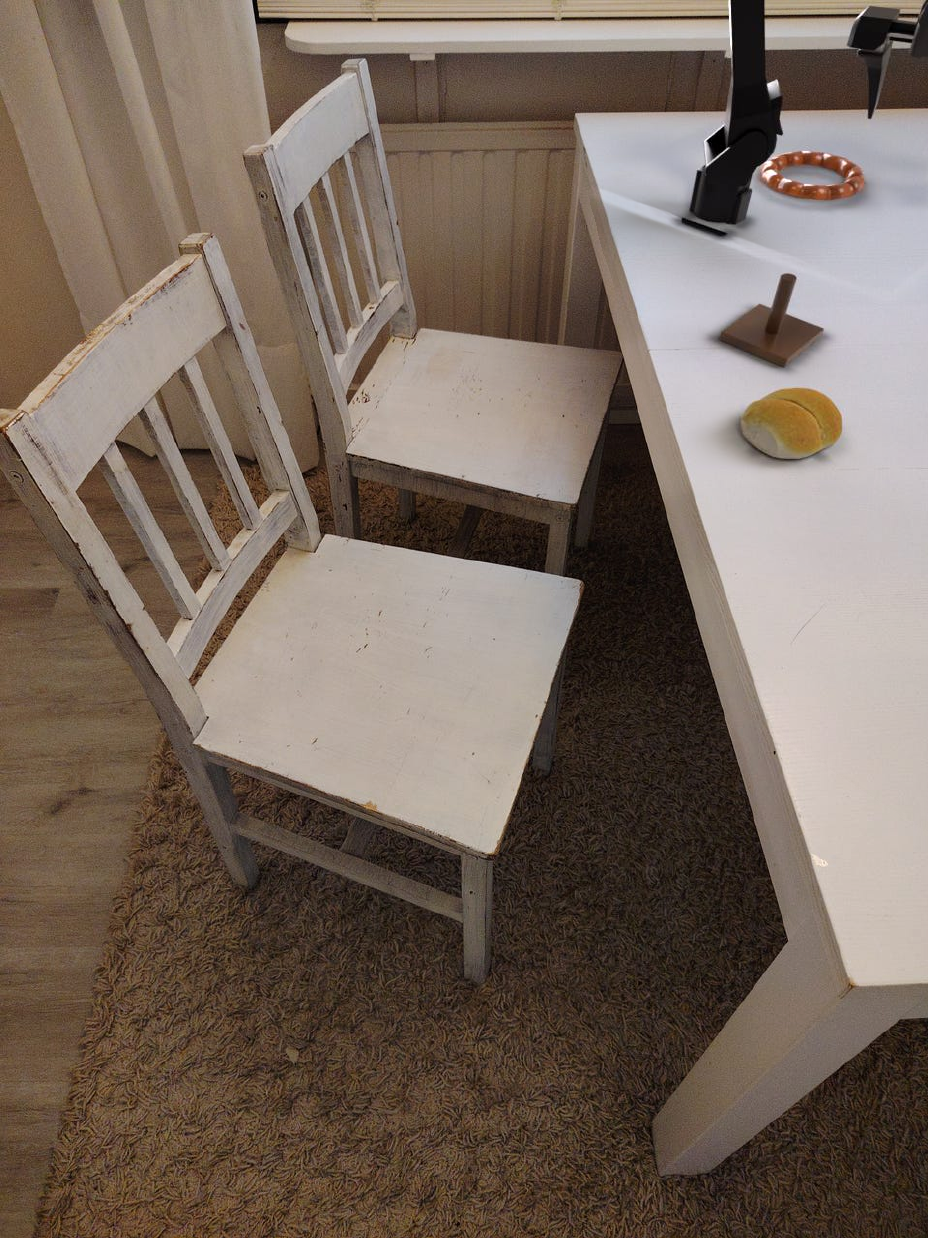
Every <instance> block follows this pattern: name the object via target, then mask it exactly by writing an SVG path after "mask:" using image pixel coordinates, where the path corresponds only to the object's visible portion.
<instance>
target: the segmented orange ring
mask: <svg viewBox="0 0 928 1238" xmlns="http://www.w3.org/2000/svg"><path fill="white" fill-rule="evenodd" d="M802 165H804V166H815V167H816V166H819V167H822V168H826V169H828V170H829V169H830V170H833V171H835V172H837V173H838V174H840V175H841V176H843V177H844V180H845V181H844V182H842V183H836V184H829V185H823V184H821V185H819V184H809V183H808V184H807V183H802V182H799V181H795V180H792V179H789V178H786V176H783V175H782V174H781V173H780V172H781V171H782V170H784V169H786V168H788V167H795V166H802ZM760 181H761V182H763V183H764V184H765V185H767V186H768V187H769V188H770V189H772V190H774V191H775V192H778V193H781V194H784V195H787V196H791V197H793V198H796V199H797V198H798V199H803V200H805V199H806V200H818V201H833V200H839V199H845V198H851V197H853V196H855V195H856V194H858V193H859V192H860V191H862V190H863V189H864V188H865V187H866V179H865V173H864V170H863V168H861V167H860V166H859V165H858V164H855V163H854V162H853V161H851V160H849V159H848V158H846V157H842V156H839V155H834V154H832V153H828V152H823V151H810V150H809V151H808V150H797V151H791V152H784V153H779V154H777V155H775V156H773V157H772V158H769V159H768V160H767V161H766V162H764V163H763V164H762V165H761V168H760Z"/></svg>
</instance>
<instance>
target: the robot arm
mask: <svg viewBox="0 0 928 1238" xmlns="http://www.w3.org/2000/svg"><path fill="white" fill-rule="evenodd" d="M765 2H766V1H765V0H728V15H729V16H728V17H729V41H730V42H729V43H730V65H731V68H730V69H731V75H730V84H729V88H728V94H727V95H728V96H727V100H726V108H725V117H724V124H722V125H721V126H720V127H719V128H717V129H716V130H715V131H714V132H713V133H712V134H710V135H709V136H708V137H706V139H704V140H703V156H704V157H703V158H704V165H701V166H700V167H698V168H697V169H696V174H695V179H694V183H693V184H694V186H693V189H692V195H691V199H690V205H689V212H692V213H693V214H694V216H695V217H697V219H699V220H702V221H704V222H708V223H713V224H727V225H732V226H736V225H738V224H739V223H741V222H742V221H744V220H745V219H747V215H748V210H749V206H750V202H751V199H752V193H753V188H751V183H752V181H753V175H754V174H755V172H756V170H757V168H758V167H760V166H762V165H763V164H764V163H765V162H767V161H769V160H770V158H771V157H772V155H773V154H774V153H775V151H776V148H777V143H778V142H777V141H778V136H781V137H782V136H783V135H784V130H783V126H782V122H781V114H782V107H783V99H784V97H783V94H782V89H781V86H780V83H779V79H775V80H773V81H770V82H767V76H766V5H765V4H766V3H765ZM900 12H901V9H900V8H892V7H884V6H876V5H875V6H874V5H869V6H867V7H866V8H865V9H864V10H862V11H861V12H860V14H858V16H857V17H856V18H855V20H854V21H853V24H852V26H851V29H850V33H849V36H848V39H847V43H846V47H849V48H851V49H857V51H856V57H858V58H860V59H863V60H864V63H865V65H866V69H867V80H868V87H867V88H868V91H867V92H868V93H867V120H872V119H873V117H874V114H875V111H876V109H877V107H878V104H879V100H880V96H881V92H882V88H883V85H884V81H885V76H886V72H887V68H888V64H889V60H890V57H891V53H892V48H893V45H894V42H897V43H898V42H899V43H905V44H906V43H907V44H910V47H909V49H908V55H909V56H910V57H911V58H913V59H916V60H917V59H919V60H920V59H922V58H925V59H928V0H925V1H924V2H923V4H922V6H921V9H920V11H919V15H918V17H917V20H916V21H911V20H901V19H899V17H900ZM680 222H681V223H683V224H685V225H688V226H691V227H694V228H697V229H698V230H699V229H700V230H703V231H705V232H708V233H710V234H714V235H716V236H718V237H719V236H720V237H724V236H726V235H727V234H728V232H725V231H722V230H721V229H718V228H714V227H711V226H708V225H706V224H702V223H700V222H697V221H695V220H692V219H688V218H685V217H681V220H680Z"/></svg>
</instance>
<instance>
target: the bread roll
mask: <svg viewBox="0 0 928 1238" xmlns="http://www.w3.org/2000/svg"><path fill="white" fill-rule="evenodd" d="M740 428H741V431H742V434H743V436H744V438H745V439H746V440H747V441H749V442H750V443H751V444H752V445H753V446H754V447H755V448H757V449H758V450H759V451H761V452H763V453H764V454H767V455H769V456H771V457H773V458H778V459H786V460H787V459H789V460H791V459H794V460H799V459H804V458H806V457H809V456H811V455H814V454H816V453H818V452H820V451H821V450H824V449H826V448H829V447H830V446H832V445H834V444H835V443H837V442H838V441H839V439H840V438H841V434H842V432H843V418H842V414H841V412H840V409H839V408H838V406H837V405H836V404H835V403H834V401H833V400H832V399H831V398H830V397H829V396H827V395H826V394H824V393H822V392H820V391H818V390H816V389H813V388H807V387H791V388H790V387H789V388H780V389H778V390H774V391H773V392H770V393H769V394H767V395H765V396H763V397H762V398H760V399H759V400H755V401H753V402H752V403H750V404H749V406H747V407H746V409H745V411H744V412H743V414H742V416H741V418H740Z"/></svg>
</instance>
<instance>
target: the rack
mask: <svg viewBox="0 0 928 1238" xmlns="http://www.w3.org/2000/svg"><path fill="white" fill-rule="evenodd" d="M797 278H798V277H797V276H796V275H795V274H794V273H790V272H787V273H786V272H785V273H782V274H781V275H780V277H779V282H778V285H777V288H776V291H775V294H774V297H773V301H772V304H771V307H770V306H767V305H765V304H762V303H758V304H757V305H755V306H754V307H753V308H751V309H750V310H749V311H747V312H745V313H744V314H743V315H742V316H740V317H739V318H737V320H735V321H733V322H732V323H731V324H730V325H728V326H726V327H725V328H724V329H723V330H721V332H720V334H719V338H718V340H719V341H721V342H724V343H725V344H728V345H729V346H733V347H735V348H737V349H740V350H742V351H744V352H746V353H750V354H751V355H754V356H757V357H759V358H761V359H762V360H763V359H764V360H766V361H768V362H771V363H772V364H775V365H777V366H780V367H782V368H785V367H787V366H788V365H789V364H790V363H791V362H792V361H794V360H795V359H796V358H797V357H799V356H800V355H801V354H802V353H804V352H805V351H806V350H807V349H808V348H809V347H811V346H812V345H813V344H814V343H815V342H817V341H818V340H819V339H821V338H822V335H823V333H824V330H825V328H823V327H821V326H819V325H815V324H813V323H811V322H808V321H805V320H803V319H800V318H798V317H796V316H794V315H793V316H792V315H791V314H788V313H787V311H788V308H789V306H790V305H789V304H790V301H791V299H792V296H793V292H794V288H795V285H796V282H797Z"/></svg>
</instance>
